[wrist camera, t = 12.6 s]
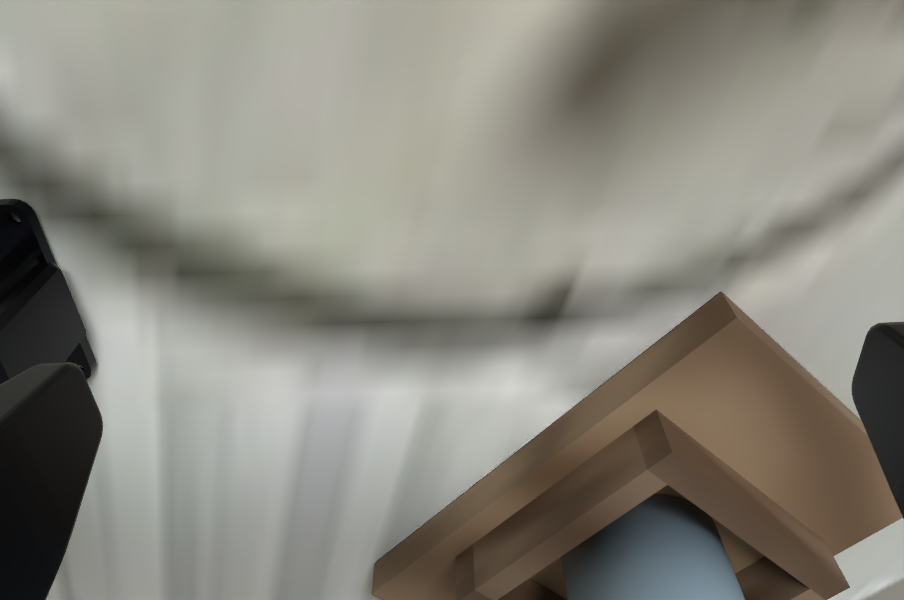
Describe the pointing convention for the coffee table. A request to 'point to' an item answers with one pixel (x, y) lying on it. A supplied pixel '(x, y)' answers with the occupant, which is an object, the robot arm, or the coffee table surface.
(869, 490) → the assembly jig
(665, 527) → the blue grey domed cylinder
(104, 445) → the coffee table surface
